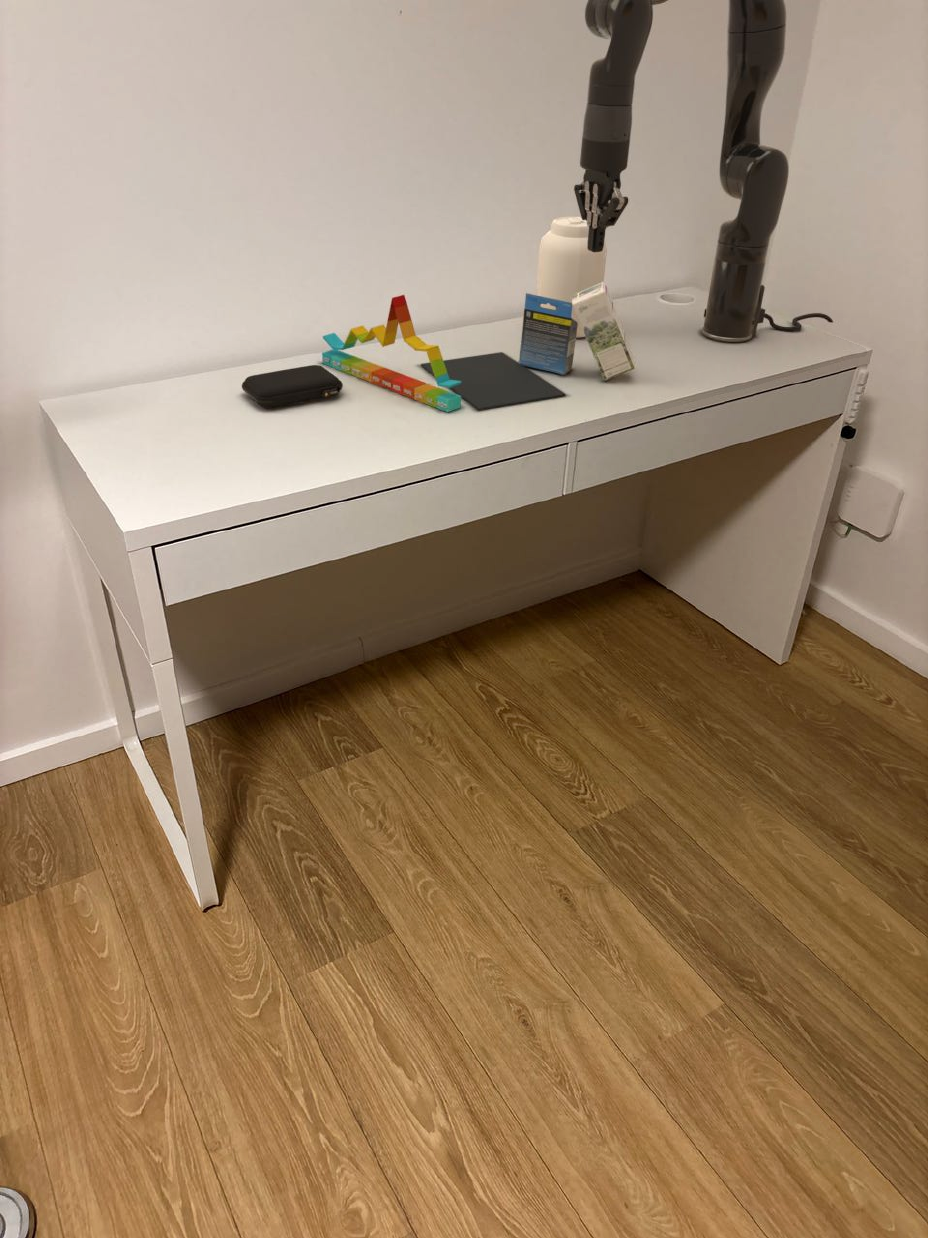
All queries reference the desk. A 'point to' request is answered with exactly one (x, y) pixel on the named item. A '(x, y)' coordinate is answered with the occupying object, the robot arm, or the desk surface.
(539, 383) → the mat
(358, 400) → the desk surface
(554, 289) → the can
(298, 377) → the carrying case
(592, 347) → the syrup box
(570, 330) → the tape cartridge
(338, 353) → the chart
